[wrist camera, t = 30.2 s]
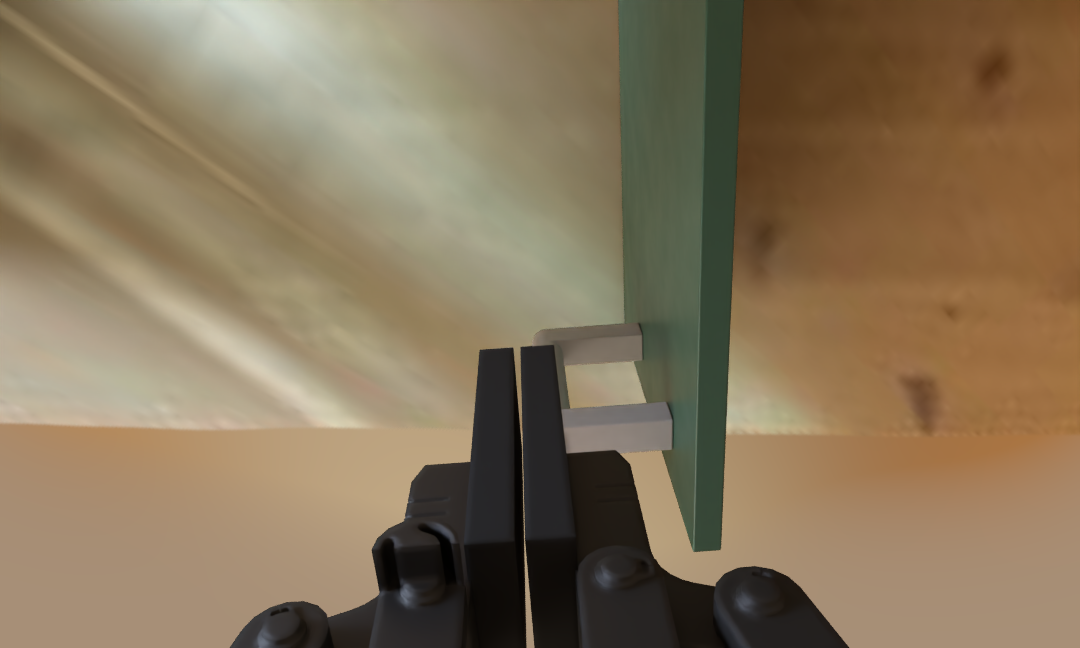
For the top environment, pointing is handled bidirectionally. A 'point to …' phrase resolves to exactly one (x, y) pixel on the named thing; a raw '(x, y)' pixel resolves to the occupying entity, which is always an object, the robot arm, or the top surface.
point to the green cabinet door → (671, 252)
